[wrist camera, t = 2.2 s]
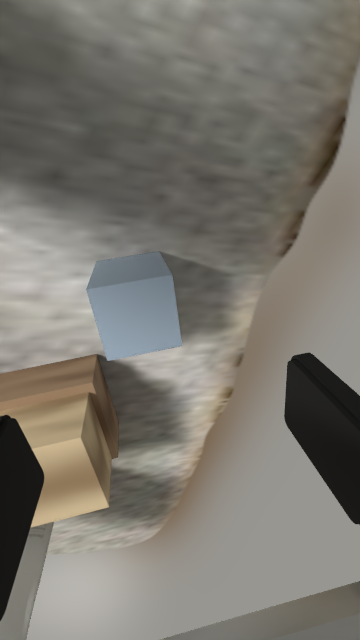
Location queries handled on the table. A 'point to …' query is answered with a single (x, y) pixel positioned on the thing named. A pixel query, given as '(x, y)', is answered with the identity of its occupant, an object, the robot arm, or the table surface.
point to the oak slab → (67, 456)
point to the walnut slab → (63, 390)
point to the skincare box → (26, 584)
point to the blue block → (134, 305)
